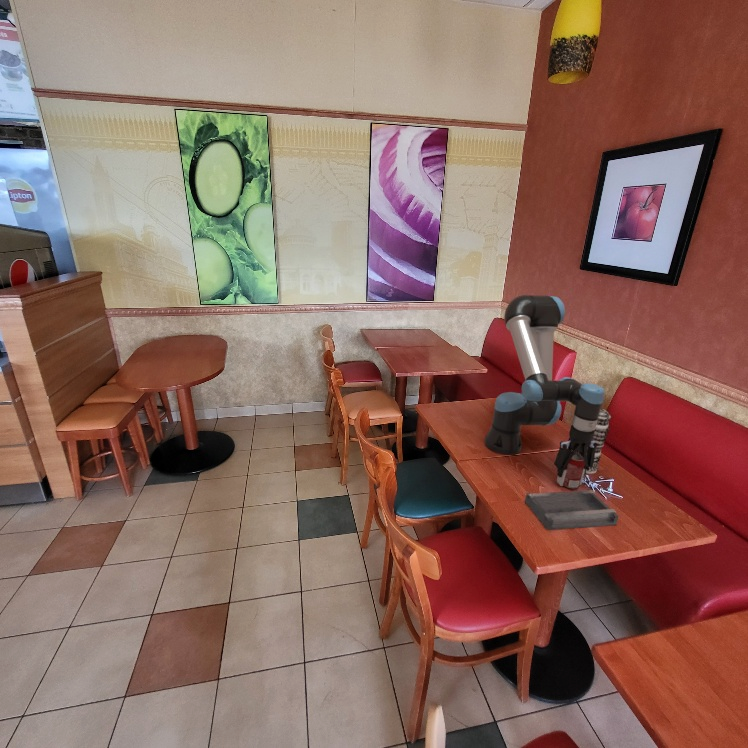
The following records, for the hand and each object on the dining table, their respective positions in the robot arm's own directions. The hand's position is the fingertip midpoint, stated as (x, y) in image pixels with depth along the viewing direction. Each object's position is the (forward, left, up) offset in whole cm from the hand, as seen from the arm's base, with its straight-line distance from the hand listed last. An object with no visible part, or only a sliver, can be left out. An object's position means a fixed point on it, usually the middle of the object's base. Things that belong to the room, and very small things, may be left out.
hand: (568, 483), depth 149 cm
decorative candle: (-10, +14, -1) cm, 17 cm away
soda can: (0, 0, -1) cm, 1 cm away
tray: (+15, -10, -1) cm, 18 cm away
